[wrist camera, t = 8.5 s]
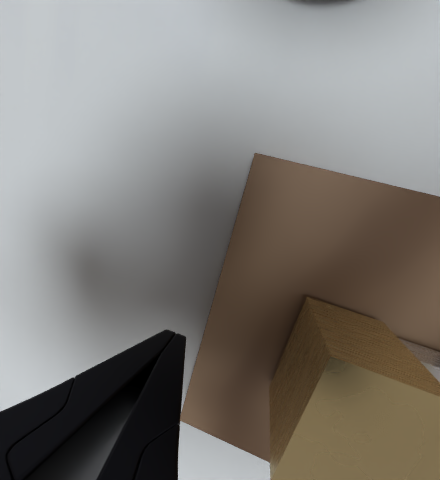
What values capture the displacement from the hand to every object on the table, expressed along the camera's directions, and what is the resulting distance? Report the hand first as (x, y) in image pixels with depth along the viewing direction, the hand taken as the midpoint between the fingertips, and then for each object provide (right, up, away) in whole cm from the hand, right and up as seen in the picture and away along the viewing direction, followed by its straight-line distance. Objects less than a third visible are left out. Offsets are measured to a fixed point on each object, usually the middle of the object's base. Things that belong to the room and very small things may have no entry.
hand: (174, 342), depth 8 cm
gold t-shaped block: (+7, -2, +1) cm, 8 cm away
